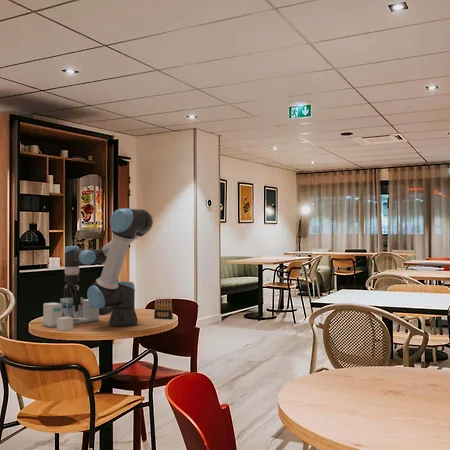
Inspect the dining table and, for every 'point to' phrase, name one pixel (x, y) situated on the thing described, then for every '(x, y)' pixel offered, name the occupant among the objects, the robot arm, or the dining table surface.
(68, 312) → the light bulb box
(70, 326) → the block
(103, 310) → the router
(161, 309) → the ammunition clip
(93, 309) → the rail assembly
